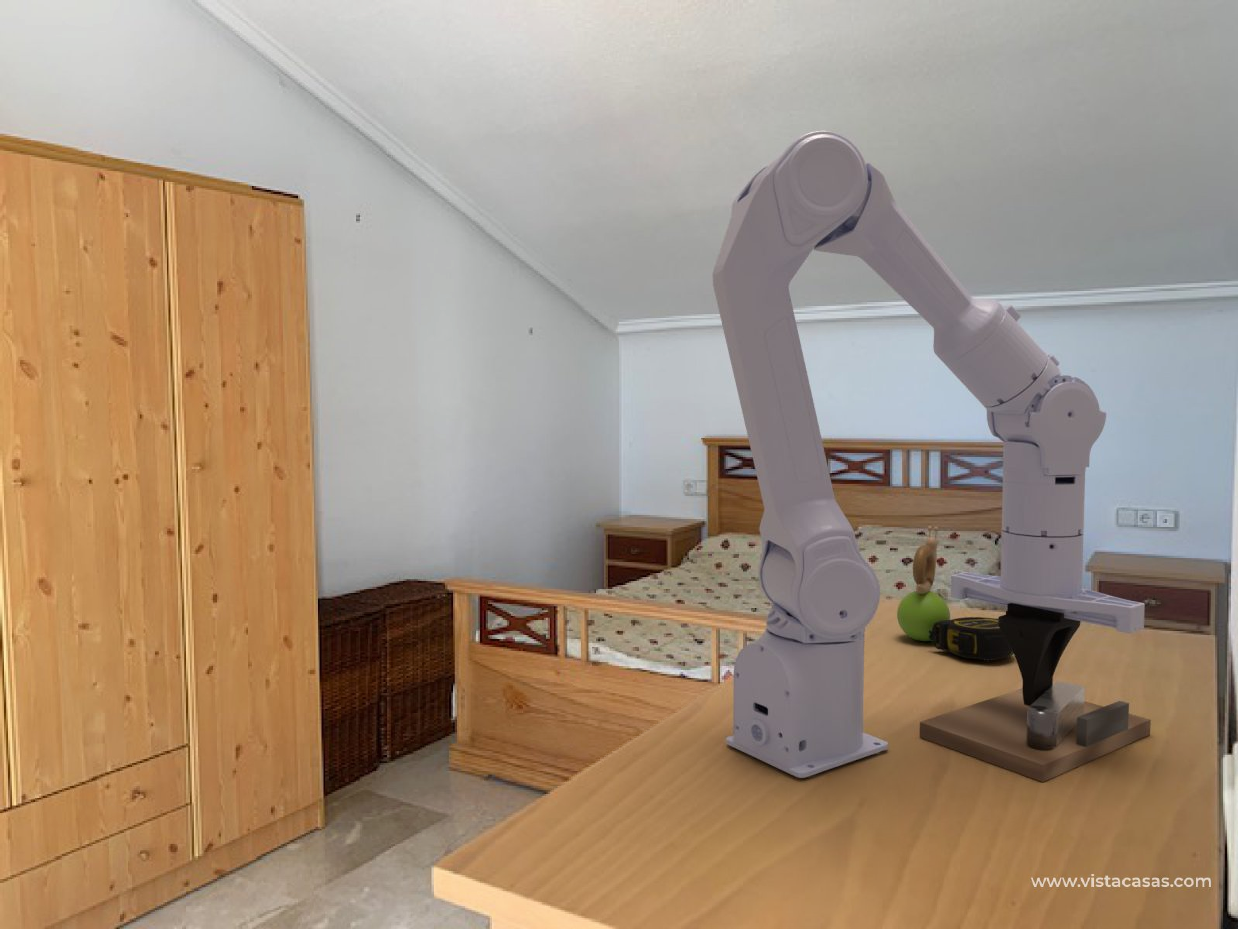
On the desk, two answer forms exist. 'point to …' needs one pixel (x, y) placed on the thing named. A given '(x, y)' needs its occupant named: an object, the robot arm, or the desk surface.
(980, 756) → the walnut board
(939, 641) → the tape measure
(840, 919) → the desk surface
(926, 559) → the snail figurine
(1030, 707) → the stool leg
